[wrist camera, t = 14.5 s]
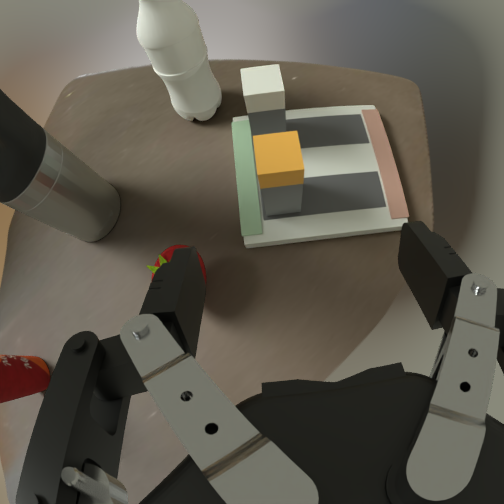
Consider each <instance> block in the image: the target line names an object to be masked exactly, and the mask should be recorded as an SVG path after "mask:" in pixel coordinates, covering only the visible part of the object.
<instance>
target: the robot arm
mask: <svg viewBox="0 0 504 504" xmlns="http://www.w3.org/2000/svg"><path fill="white" fill-rule="evenodd" d="M0 202H1V203H3V204H5V205H7V206H9V207H11V208H13V209H15V210H17V211H19V212H21V213H23V214H26V215H28V216H30V217H32V218H34V219H36V220H38V221H40V222H43V223H45V224H47V225H49V226H51V227H53V228H56V229H58V230H60V231H62V232H64V233H66V234H69V235H71V236H73V237H75V238H78V239H80V240H82V241H86V242H93V241H97V240H99V239H101V238H103V237H104V236H105V235H107V234H108V233H109V232H110V231H111V229H112V228H113V226H114V225H115V223H116V221H117V219H118V216H119V212H120V197H119V194H118V192H117V191H116V189H115V188H114V187H113V186H112V185H111V184H109V183H108V182H107V181H106V180H104V179H103V178H102V177H101V176H100V175H98V174H97V173H96V172H95V171H94V170H92V169H91V168H90V167H89V166H87V165H86V164H85V163H84V162H83V161H81V160H80V159H79V158H78V157H77V156H75V155H74V154H73V153H72V152H71V151H69V150H68V149H67V148H66V147H65V146H63V145H62V144H61V143H60V142H59V141H57V140H56V139H55V138H54V137H53V136H51V135H50V134H49V133H48V132H47V131H46V130H44V129H43V128H42V127H41V126H40V125H38V124H37V123H36V122H35V121H34V120H33V119H31V118H30V117H29V116H28V115H27V114H26V113H25V112H24V111H23V110H22V109H21V108H19V107H18V106H17V105H16V104H15V103H14V102H13V101H12V100H11V99H10V98H9V97H8V96H7V95H6V94H4V92H3V91H2V90H1V89H0ZM398 264H399V269H400V271H401V273H402V275H403V277H404V279H405V280H406V282H407V284H408V286H409V287H410V289H411V291H412V293H413V295H414V297H415V298H416V300H417V302H418V304H419V306H420V308H421V310H422V311H423V313H424V315H425V317H426V319H427V321H428V323H429V325H430V327H431V329H432V330H433V329H438V328H442V327H443V329H444V330H445V331H444V334H443V336H442V340H441V343H440V346H439V349H438V353H437V356H436V359H435V362H434V365H433V368H432V371H431V374H430V376H429V377H428V376H425V375H422V374H418V373H412V372H404V369H403V366H402V364H401V362H400V363H395V364H391V365H386V366H382V367H376V368H370V369H367V370H365V371H363V372H360V373H358V374H356V375H353V376H351V377H348V378H346V379H343V380H341V381H338V382H322V381H309V380H299V379H297V380H287V381H277V382H266V383H262V393H260V394H257V395H254V396H252V397H250V398H247V399H246V400H244V401H242V402H240V403H239V404H237V405H236V406H234V405H233V403H232V402H231V401H230V400H229V399H228V398H227V397H226V396H225V394H224V393H223V392H222V391H221V390H220V389H219V388H218V386H217V385H216V384H215V383H214V382H213V381H212V379H211V378H210V377H209V376H208V375H207V374H206V372H205V371H204V370H203V369H202V368H201V366H200V365H199V364H198V363H197V362H196V360H195V356H196V350H197V344H198V337H199V331H200V325H201V319H202V313H203V307H204V301H205V295H206V285H205V279H204V276H203V272H202V268H201V265H200V261H199V258H198V254H197V251H196V248H195V247H194V246H192V247H184V248H176V249H175V250H174V252H173V255H172V257H171V260H170V262H167V263H163V264H162V265H161V266H160V267H159V268H158V269H157V270H156V271H155V274H154V276H153V279H152V283H151V284H150V287H149V290H148V292H147V294H146V297H145V300H144V302H143V305H142V308H141V311H140V313H139V315H138V316H135V317H133V318H131V319H130V320H128V321H127V322H126V323H125V324H124V326H123V327H122V329H121V331H120V334H119V335H117V336H113V337H110V338H106V339H103V340H100V341H99V339H98V337H97V336H96V335H95V334H94V333H93V332H90V331H83V332H79V333H77V334H75V335H73V336H72V337H71V338H70V339H69V340H68V341H67V342H66V343H65V345H64V347H63V349H62V352H61V354H60V357H59V359H58V362H57V364H56V367H55V369H54V372H53V374H52V377H51V380H50V382H49V385H48V388H47V390H46V393H45V396H44V399H43V402H42V405H41V408H40V411H39V414H38V417H37V420H36V423H35V426H34V429H33V432H32V436H31V439H30V443H29V446H28V450H27V453H26V457H25V461H24V465H23V469H22V473H21V477H20V481H19V486H18V490H17V495H16V504H128V495H127V491H126V488H125V487H124V485H123V484H122V483H121V482H120V481H119V480H117V476H118V469H119V462H120V455H121V449H122V442H123V436H124V431H125V425H126V419H127V414H128V409H129V403H130V398H131V395H135V394H138V393H142V392H146V391H148V392H149V393H150V395H151V397H152V398H153V400H154V402H155V403H156V405H157V406H158V408H159V410H160V411H161V413H162V414H163V416H164V418H165V419H166V421H167V422H168V424H169V425H170V427H171V428H172V430H173V431H174V433H175V434H176V436H177V437H178V439H179V440H180V442H181V443H182V445H183V446H184V447H185V449H186V450H187V452H188V453H189V454H188V455H187V457H186V458H185V459H184V460H183V461H182V462H181V463H180V464H179V465H178V466H177V467H176V468H175V469H174V470H173V471H172V472H171V473H170V474H169V475H168V476H167V477H166V478H165V479H164V480H163V481H162V482H161V483H160V484H159V485H158V486H157V487H156V488H155V489H154V490H153V491H152V492H150V493H149V494H148V495H147V496H146V497H145V498H144V499H143V500H142V501H141V502H140V503H139V504H504V424H502V423H501V422H499V421H498V420H496V419H495V418H493V417H491V416H490V415H488V414H487V413H486V412H487V408H488V404H489V399H490V394H491V389H492V384H493V378H494V372H495V366H496V359H497V361H498V363H499V365H500V367H501V369H502V371H503V373H504V289H500V288H496V285H495V284H494V282H493V281H492V280H490V279H489V278H488V277H486V276H484V275H481V274H476V273H472V272H471V271H470V270H469V268H468V267H467V266H466V264H465V263H464V262H463V261H462V259H461V258H460V257H459V256H458V254H456V252H455V251H454V250H453V248H451V246H450V245H449V244H448V242H447V241H446V240H445V239H444V238H443V237H441V236H439V235H438V234H436V233H435V232H431V231H430V230H429V229H428V227H427V226H426V225H425V224H424V223H423V222H422V221H416V222H407V223H403V225H402V229H401V238H400V246H399V254H398Z"/></svg>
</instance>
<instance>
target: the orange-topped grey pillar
mask: <svg viewBox="0 0 504 504" xmlns="http://www.w3.org/2000/svg"><path fill="white" fill-rule="evenodd" d="M253 142H254V151H255V159H256V167H257V175H258V180H259V184H260V189H261V193H262V198H263V203H264V207H265V212H266V216H271V215H279V214H288V213H296V212H301V203H302V193H303V182H304V170H305V169H304V163H303V158H302V153H301V148H300V143H299V138H298V133H297V131H289V132H280V133H272V134H264V135H256V136H253Z"/></svg>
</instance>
